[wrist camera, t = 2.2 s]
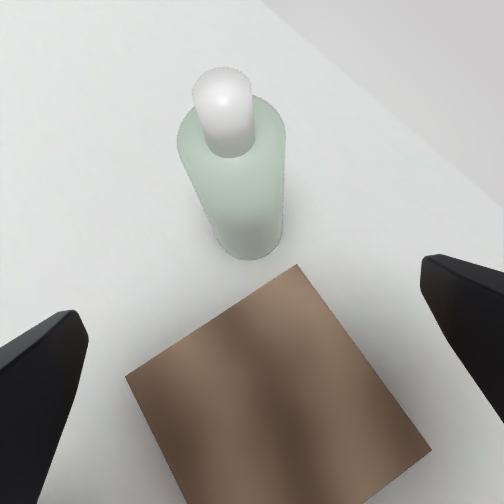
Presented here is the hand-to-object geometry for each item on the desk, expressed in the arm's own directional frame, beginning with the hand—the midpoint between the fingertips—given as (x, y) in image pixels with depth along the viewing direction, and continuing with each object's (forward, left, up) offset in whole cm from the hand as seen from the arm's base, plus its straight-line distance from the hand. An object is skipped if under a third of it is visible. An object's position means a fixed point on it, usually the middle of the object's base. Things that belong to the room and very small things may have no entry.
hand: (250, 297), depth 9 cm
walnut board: (-2, -3, -13) cm, 14 cm away
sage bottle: (+3, +7, -13) cm, 15 cm away
